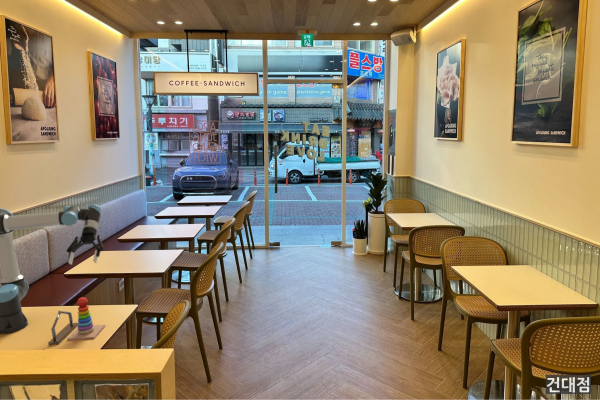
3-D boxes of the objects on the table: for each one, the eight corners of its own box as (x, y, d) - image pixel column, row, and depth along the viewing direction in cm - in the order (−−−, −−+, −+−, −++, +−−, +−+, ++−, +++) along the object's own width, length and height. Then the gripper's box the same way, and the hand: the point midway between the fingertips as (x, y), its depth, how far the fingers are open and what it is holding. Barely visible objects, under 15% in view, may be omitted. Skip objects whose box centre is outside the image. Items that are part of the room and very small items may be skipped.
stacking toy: (88, 335, 241) (82, 301, 238) (74, 334, 243) (69, 300, 239) (97, 328, 249) (92, 295, 245) (84, 327, 250) (79, 294, 247)
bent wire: (69, 325, 257) (65, 302, 254) (78, 325, 257) (74, 301, 254) (48, 345, 235) (44, 319, 232) (58, 344, 235) (54, 319, 232)
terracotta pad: (67, 340, 239) (67, 338, 239) (79, 328, 253) (79, 326, 253) (94, 338, 239) (94, 336, 239) (105, 326, 253) (105, 324, 253)
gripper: (114, 231, 271) (107, 264, 259) (71, 234, 271) (62, 267, 259) (109, 224, 265) (102, 258, 253) (65, 227, 265) (56, 261, 253)
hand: (82, 262), depth 256 cm, fingers open, 13 cm apart
